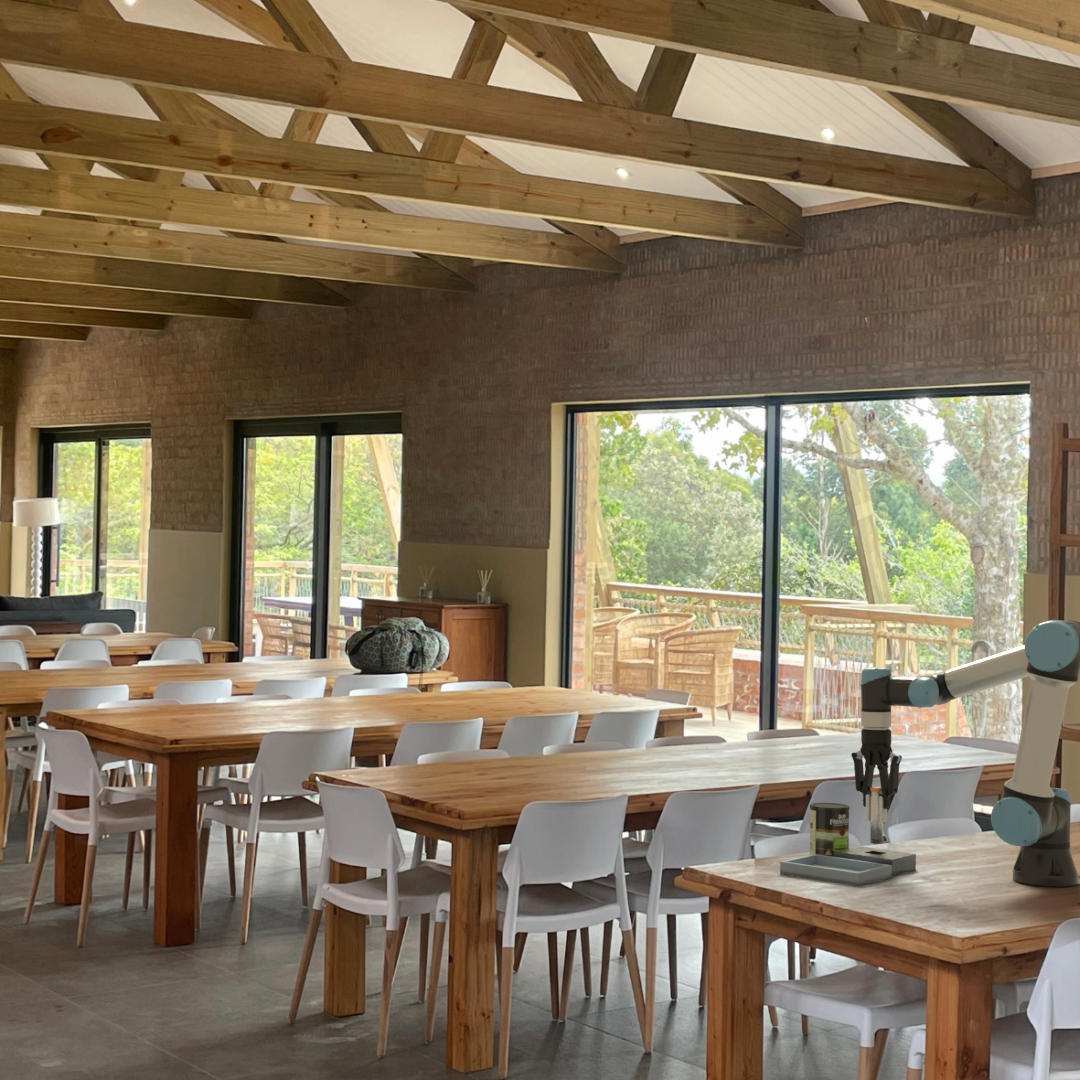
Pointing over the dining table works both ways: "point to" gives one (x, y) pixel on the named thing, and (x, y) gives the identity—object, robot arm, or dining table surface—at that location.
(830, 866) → the parts tray
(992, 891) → the dining table surface
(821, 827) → the coffee can
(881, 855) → the block
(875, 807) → the orange capped tube
